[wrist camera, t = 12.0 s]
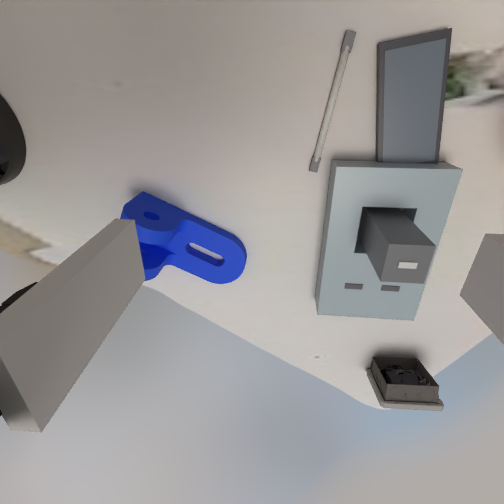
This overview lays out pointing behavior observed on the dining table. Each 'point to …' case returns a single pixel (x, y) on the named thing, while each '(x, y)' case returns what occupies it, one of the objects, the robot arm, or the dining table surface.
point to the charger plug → (395, 245)
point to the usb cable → (332, 98)
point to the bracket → (182, 241)
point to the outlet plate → (350, 248)
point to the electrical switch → (404, 385)
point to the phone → (411, 97)
